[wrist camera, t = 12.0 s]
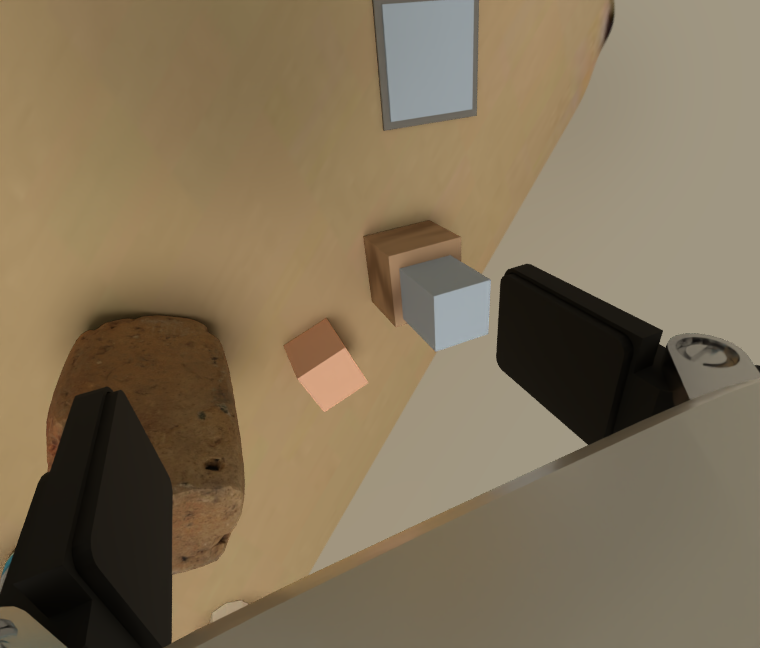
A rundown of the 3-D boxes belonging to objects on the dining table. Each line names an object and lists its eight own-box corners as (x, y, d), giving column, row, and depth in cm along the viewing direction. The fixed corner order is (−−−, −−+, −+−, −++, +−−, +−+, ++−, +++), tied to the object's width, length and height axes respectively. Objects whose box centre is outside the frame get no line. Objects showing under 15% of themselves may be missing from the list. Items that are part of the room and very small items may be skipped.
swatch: (372, -5, 31) (374, -6, 31) (477, -12, 34) (480, -12, 34) (383, 130, 36) (385, 130, 36) (475, 115, 39) (477, 115, 39)
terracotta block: (283, 345, 42) (297, 378, 37) (326, 317, 43) (345, 347, 38) (308, 377, 45) (324, 412, 40) (348, 351, 45) (368, 382, 41)
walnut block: (362, 236, 40) (388, 256, 35) (428, 219, 42) (461, 236, 37) (371, 300, 44) (395, 327, 39) (431, 283, 46) (461, 306, 41)
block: (226, 319, 38) (262, 486, 22) (211, 388, 41) (234, 582, 25) (82, 301, 33) (-7, 503, 17) (75, 381, 36) (-8, 623, 20)
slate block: (399, 268, 36) (433, 296, 31) (450, 255, 38) (490, 279, 33) (403, 318, 39) (435, 351, 34) (450, 304, 40) (488, 333, 35)
